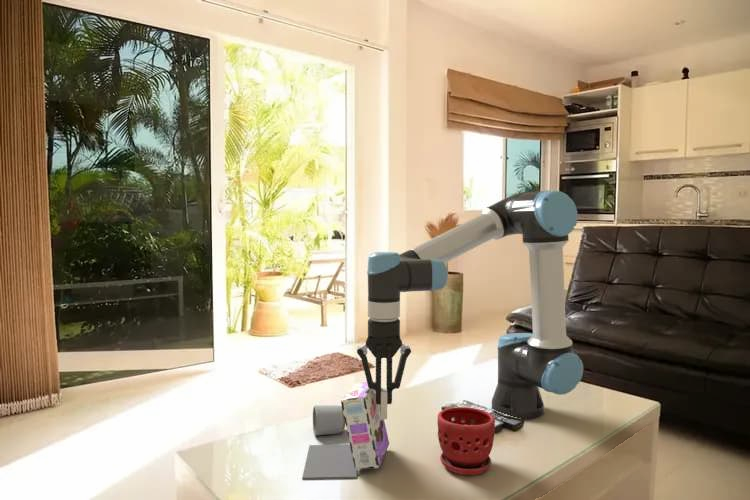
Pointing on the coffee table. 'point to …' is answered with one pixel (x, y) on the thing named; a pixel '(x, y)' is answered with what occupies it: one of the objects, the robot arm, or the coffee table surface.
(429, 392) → the coffee table surface
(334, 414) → the ceramic mug
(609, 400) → the coffee table surface
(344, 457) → the mat
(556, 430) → the coffee table surface
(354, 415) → the candy box
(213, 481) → the coffee table surface
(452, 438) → the plant pot
